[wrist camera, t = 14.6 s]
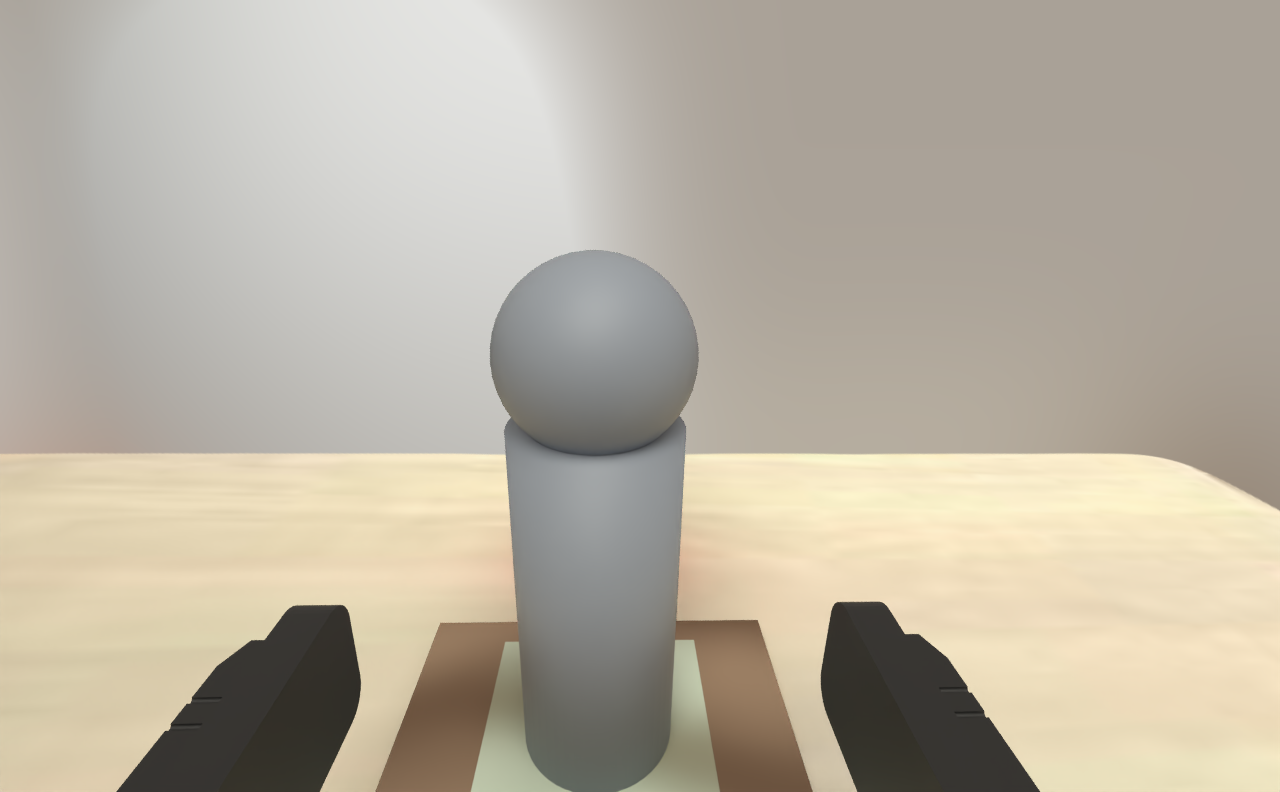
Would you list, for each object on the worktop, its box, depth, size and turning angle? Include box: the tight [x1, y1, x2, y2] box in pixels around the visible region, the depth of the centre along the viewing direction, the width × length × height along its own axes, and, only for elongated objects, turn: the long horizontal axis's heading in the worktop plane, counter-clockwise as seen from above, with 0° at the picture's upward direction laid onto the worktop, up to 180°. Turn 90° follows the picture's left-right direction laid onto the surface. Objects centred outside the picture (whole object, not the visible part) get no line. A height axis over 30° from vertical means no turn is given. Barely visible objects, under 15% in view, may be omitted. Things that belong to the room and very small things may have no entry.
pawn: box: [490, 250, 698, 792], centre depth 16 cm, size 5×5×14 cm
